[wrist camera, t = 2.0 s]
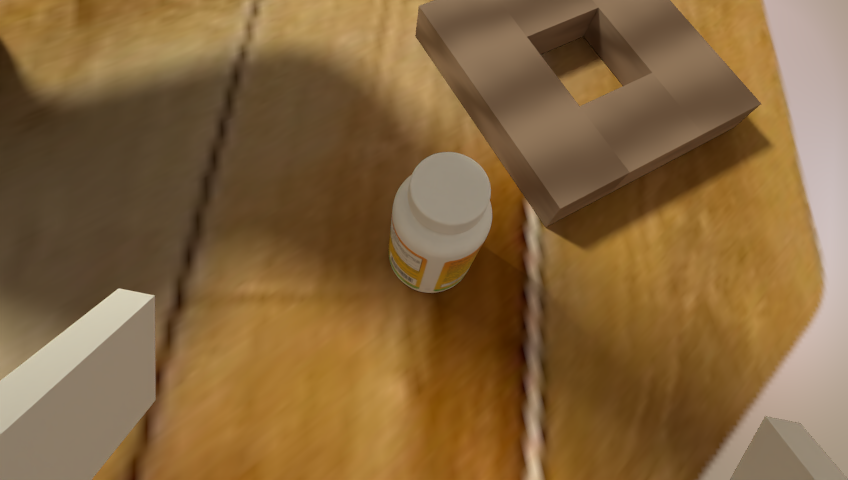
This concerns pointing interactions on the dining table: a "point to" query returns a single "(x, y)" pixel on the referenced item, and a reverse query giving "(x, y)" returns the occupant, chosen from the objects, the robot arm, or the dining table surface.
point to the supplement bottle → (439, 222)
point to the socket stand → (558, 111)
